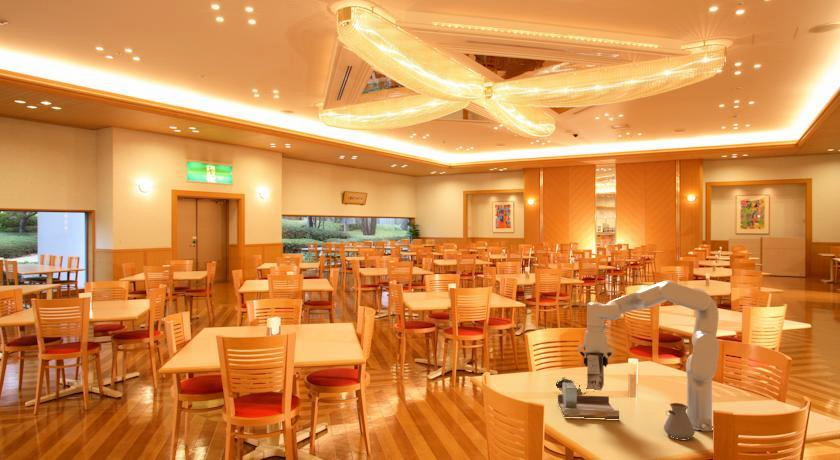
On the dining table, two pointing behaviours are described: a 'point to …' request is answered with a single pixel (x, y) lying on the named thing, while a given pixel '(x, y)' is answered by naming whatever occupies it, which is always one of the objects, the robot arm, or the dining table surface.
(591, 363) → the coffee box
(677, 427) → the coffee pot
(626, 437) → the dining table surface
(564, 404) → the tea tin
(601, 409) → the flat grey tray
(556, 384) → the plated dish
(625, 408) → the dining table surface
